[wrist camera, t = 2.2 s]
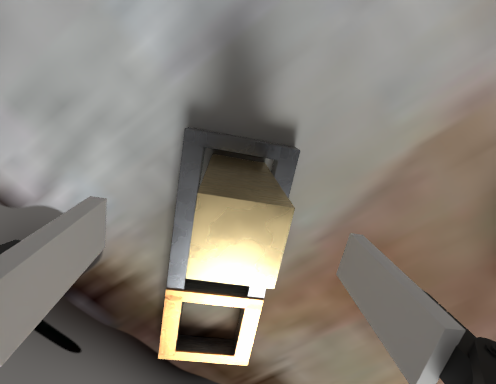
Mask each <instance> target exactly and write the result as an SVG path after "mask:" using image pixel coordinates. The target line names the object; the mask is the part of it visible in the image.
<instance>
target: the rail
mask: <svg viewBox="0 0 496 384" xmlns="http://www.w3.org/2000/svg"><path fill="white" fill-rule="evenodd" d="M205 147H208V148H214V149H219V150H225V151H230V152H236V153H242V154H247V155H253V156H258V157H264V158H269V159H274V162H273V166H272V171H271V173H272V174H273V176H274V177H275V179H276V180H277V182H278V184H279V185H280V187H281V188H282V190H283V191H284V193H285V194H286V196H287V197H288V198H289V194H290V190H291V186H292V182H293V177H294V173H295V169H296V165H297V161H298V157H299V153H300V150H299V149H297V148H296V147H292V146H287V145H281V144H276V143H271V142H265V141H260V140H255V139H249V138H244V137H239V136H233V135H228V134H223V133H217V132H212V131H207V130H201V129H196V128H191V127H188V128H185V132H184V141H183V149H182V158H181V167H180V175H179V184H178V193H177V201H176V210H175V219H174V228H173V236H172V245H171V254H170V262H169V271H168V280H167V288H166V294H165V303H164V312H163V320H162V329H161V338H160V347H159V355H158V358H159V359H171V360H183V361H196V362H209V363H221V364H234V365H248V361H249V357H250V353H251V349H252V345H253V341H254V337H255V333H256V329H257V325H258V321H259V317H260V313H261V309H262V305H263V298H264V294H265V290H266V288H262V287H253V286H245V285H236V284H228V283H219V282H211V281H202V280H194V279H186V273H187V265H188V258H189V251H190V244H191V237H192V229H193V222H194V215H195V208H196V201H197V193H198V191H199V187H200V180H201V173H202V166H203V159H204V151H205ZM183 302H192V303H202V304H211V305H220V306H230V307H239V308H241V311H240V316H239V320H238V325H237V329H236V334H235V338H234V340H231V339H220V338H209V337H198V336H187V335H179V330H180V323H181V315H182V308H183Z"/></svg>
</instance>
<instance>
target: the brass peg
mask: <svg viewBox="0 0 496 384" xmlns="http://www.w3.org/2000/svg"><path fill="white" fill-rule="evenodd" d="M294 210H295V208H294V206H293V205H292V203H291V202H290V200H289V199H288V197H287V196H286V194H285V193H284V191H283V190H282V188H281V187H280V185H279V184H278V182H277V180H276V179H275V177H274V176H273V174H272V173H271V171H270V170H269V168H268V167H267V165H266V164H265V163H262V162H257V161H251V160H246V159H240V158H234V157H229V156H223V155H217V154H213V155H212V157H211V160H210V163H209V165H208V168H207V170H206V173H205V175H204V178H203V180H202V183H201V185H200V188H199V191H198V193H197V201H196V208H195V215H194V222H193V229H192V237H191V244H190V251H189V258H188V265H187V273H186V279H194V280H202V281H211V282H219V283H228V284H236V285H245V286H253V287H262V288H271V289H274V287H275V283H276V279H277V275H278V272H279V268H280V264H281V260H282V256H283V252H284V248H285V245H286V241H287V237H288V233H289V229H290V225H291V221H292V218H293V214H294Z"/></svg>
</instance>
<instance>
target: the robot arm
mask: <svg viewBox="0 0 496 384" xmlns="http://www.w3.org/2000/svg"><path fill="white" fill-rule="evenodd" d="M106 201H107V199H106V198H99V197H92V196H90V197H88V198H87V199H85V200H84V201H82V202H81V203H79V204H78V205H76V206H74V207H73V208H71V209H70V210H68V211H67V212H65V213H64V214H62V215H61V216H59V217H57V218H56V219H54V220H53V221H51V222H50V223H48V224H47V225H45V226H44V227H42V228H41V229H39V230H38V231H36V232H34V233H33V234H31V235H30V236H28V237H27V238H25V239H23V240H22V241H21V240H13V241H11V242H8V243H5V244H2V245H0V367H1V366H2V365H3V364H4V363H5V361H6V360H7V359H8V358H9V357H10V356H11V355H12V353H13V352H14V351H15V350H16V349H17V348H18V347H19V346H20V344H21V343H22V342H23V341H24V340H25V339H26V337H27V336H28V335H29V334H30V333H31V332H32V331H33V329H34V328H35V327H36V326H37V325H38V324H39V323H40V321H41V320H42V319H43V318H44V317H45V316H46V314H47V313H48V312H49V311H50V310H51V309H52V307H53V306H54V305H55V304H56V303H57V302H58V301H59V300H60V298H61V297H62V296H63V295H64V294H65V293H66V292H67V290H68V289H69V288H70V287H71V286H72V285H73V283H74V282H75V281H76V280H77V279H78V278H79V277H80V275H81V274H82V273H83V272H84V271H85V270H86V269H87V267H88V266H89V265H90V264H91V263H92V261H93V260H94V259H95V258H96V257H97V256H98V255H99V253H100V252H101V251H102V250H103V249H104V248H105V236H106ZM336 275H337V276H338V278H339V279H340V281H341V282H342V284H343V285H344V287H345V288H346V290H347V291H348V293H349V294H350V296H351V297H352V299H353V300H354V302H355V303H356V305H357V306H358V308H359V309H360V311H361V312H362V314H363V315H364V317H365V318H366V320H367V321H368V323H369V324H370V326H371V327H372V329H373V330H374V332H375V333H376V335H377V336H378V338H379V339H380V341H381V342H382V344H383V345H384V347H385V348H386V350H387V351H388V353H389V354H390V356H391V357H392V359H393V360H394V362H395V363H396V365H397V366H398V368H399V369H400V371H401V372H402V374H403V375H404V377H405V378H406V380H407V381H408V383H409V384H436V383H437V382H438V380H439V378H440V379H441V380H442V381H443V382H444V384H496V342H495V341H492V340H490V339H487V338H482V337H478V338H476V337H475V336H474V335H473V334H472V333H471V332H470V331H469V330H468V329H466V328H465V327H464V326H463V325H462V324H461V323H460V322H459V321H458V320H457V319H455V318H454V317H453V316H452V315H451V314H450V313H449V312H446V309H445V308H443V307H442V306H441V305H440V304H438V302H437V301H436V300H435V299H434V298H433V297H431V296H430V295H429V294H428V293H426V292H425V291H423V290H422V289H421V288H419V287H418V286H417V285H416V284H415V283H414V282H413V281H412V280H411V279H410V278H409V277H408V276H406V275H405V274H404V273H403V272H402V271H401V270H400V269H399V268H398V267H397V266H396V265H395V264H393V263H392V262H391V261H390V260H389V259H388V258H387V257H386V256H385V255H384V254H383V253H382V252H381V251H379V250H378V249H377V248H376V247H375V246H374V245H373V244H372V243H371V242H370V241H369V240H368V239H366V238H365V237H364V236H363V235H359V234H352V233H350V235H349V238H348V241H347V244H346V247H345V250H344V253H343V256H342V259H341V262H340V265H339V268H338V271H337V274H336Z"/></svg>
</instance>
